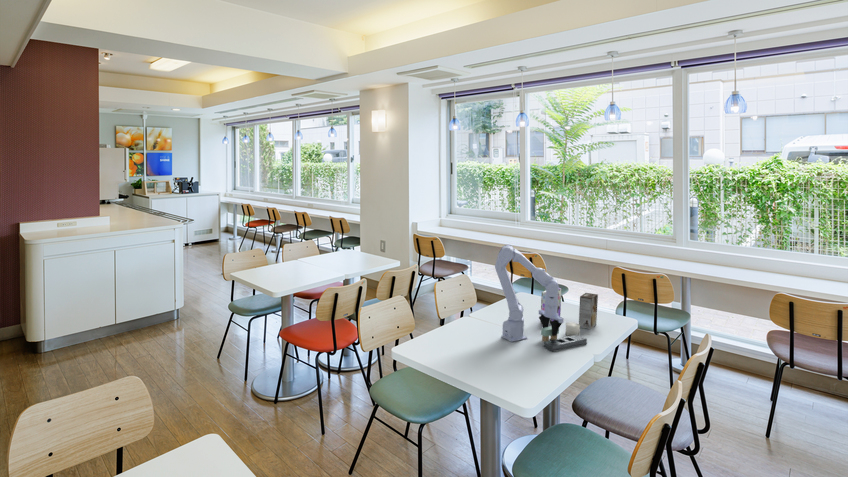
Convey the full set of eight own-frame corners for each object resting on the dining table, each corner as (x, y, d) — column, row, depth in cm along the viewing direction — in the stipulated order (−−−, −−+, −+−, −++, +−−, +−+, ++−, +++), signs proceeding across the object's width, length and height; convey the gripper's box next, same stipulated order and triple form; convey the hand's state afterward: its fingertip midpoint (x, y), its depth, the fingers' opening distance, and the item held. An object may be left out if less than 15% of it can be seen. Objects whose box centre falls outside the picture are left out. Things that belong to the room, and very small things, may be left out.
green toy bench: (545, 342, 213) (545, 330, 212) (540, 340, 215) (541, 328, 214) (558, 340, 216) (559, 327, 215) (553, 337, 219) (554, 325, 218)
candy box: (550, 324, 237) (552, 293, 234) (539, 322, 240) (541, 291, 238) (560, 318, 248) (562, 288, 245) (550, 315, 251) (551, 286, 249)
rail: (552, 351, 202) (552, 346, 202) (543, 346, 208) (543, 341, 207) (586, 344, 211) (586, 338, 211) (576, 339, 216) (577, 334, 216)
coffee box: (584, 322, 241) (585, 292, 239) (596, 324, 237) (598, 294, 235) (578, 326, 234) (579, 296, 231) (590, 329, 230) (592, 298, 227)
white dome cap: (572, 337, 219) (572, 327, 218) (562, 333, 225) (563, 323, 224) (582, 335, 222) (582, 325, 221) (572, 331, 227) (572, 321, 227)
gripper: (569, 308, 208) (567, 337, 210) (547, 299, 221) (546, 327, 223) (557, 310, 205) (555, 339, 207) (535, 301, 218) (534, 329, 220)
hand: (549, 333), depth 215 cm, fingers open, 5 cm apart
